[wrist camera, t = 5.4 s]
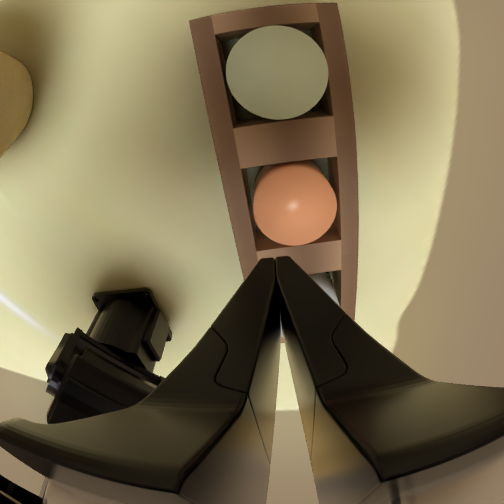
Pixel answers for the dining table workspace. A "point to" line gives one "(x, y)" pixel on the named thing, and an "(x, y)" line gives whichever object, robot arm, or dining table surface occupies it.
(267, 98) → the sage button
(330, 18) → the brown wooden flat tray
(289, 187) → the terracotta button
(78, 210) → the dining table surface
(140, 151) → the dining table surface
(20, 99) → the plant pot
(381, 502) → the robot arm
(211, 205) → the dining table surface
